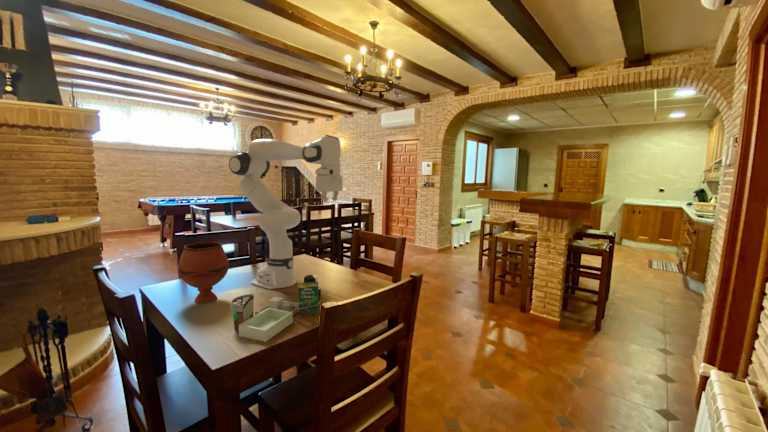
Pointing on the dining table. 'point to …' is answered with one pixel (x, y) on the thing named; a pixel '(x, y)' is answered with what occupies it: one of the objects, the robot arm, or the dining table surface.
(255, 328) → the sage bin
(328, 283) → the dining table surface
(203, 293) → the goblet
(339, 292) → the dining table surface
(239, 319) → the food container
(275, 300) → the off-white cube
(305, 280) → the beige square canister
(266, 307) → the beech tray
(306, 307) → the coffee box
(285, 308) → the pale grey cube
